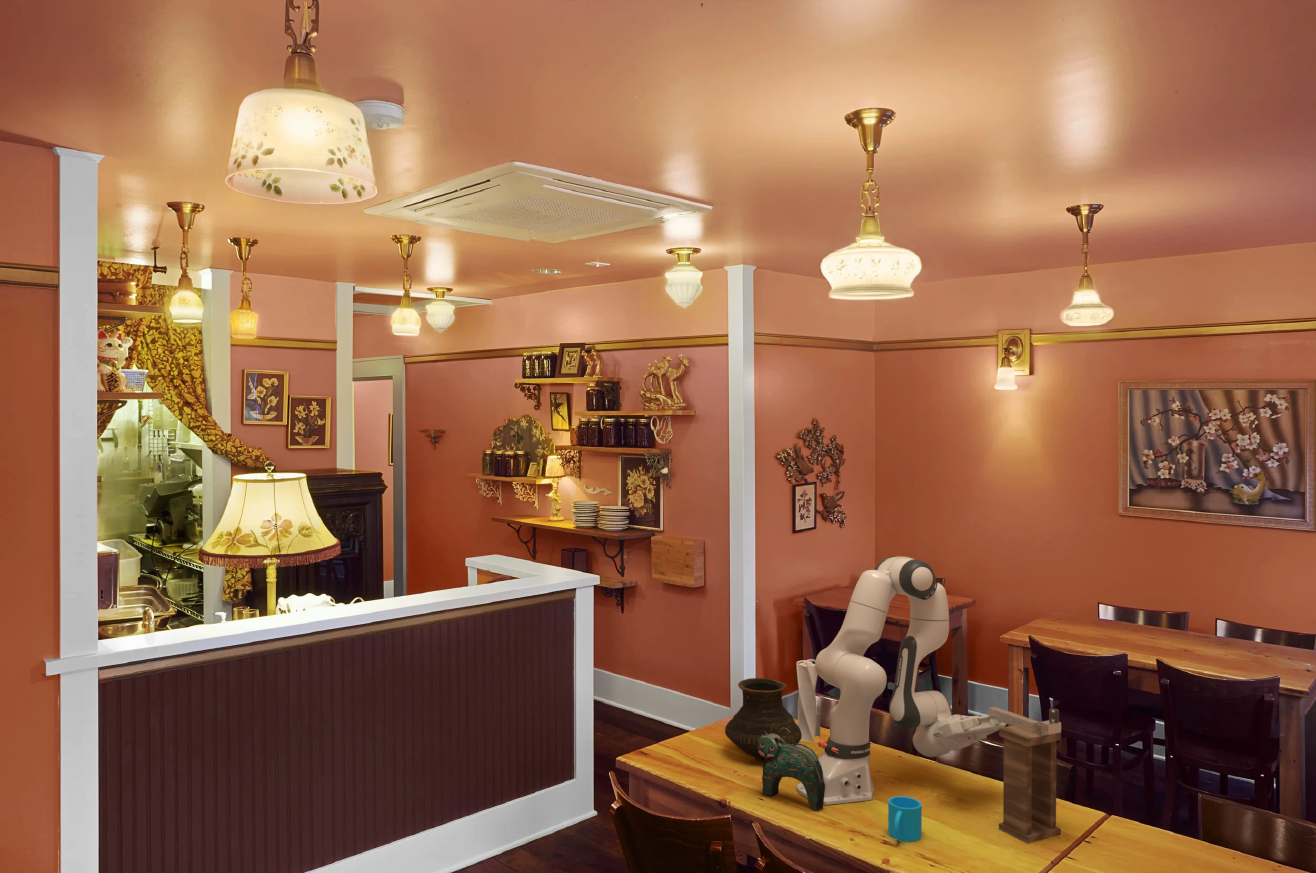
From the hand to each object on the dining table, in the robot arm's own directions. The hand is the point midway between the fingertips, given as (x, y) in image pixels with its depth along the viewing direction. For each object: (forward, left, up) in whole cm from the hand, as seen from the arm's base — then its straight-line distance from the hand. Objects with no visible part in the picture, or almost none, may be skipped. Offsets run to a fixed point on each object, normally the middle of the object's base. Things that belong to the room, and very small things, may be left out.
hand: (991, 718), depth 235 cm
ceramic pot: (-31, +64, -26) cm, 75 cm away
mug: (-32, -1, -26) cm, 41 cm away
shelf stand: (0, -13, -25) cm, 28 cm away
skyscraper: (-9, +70, -26) cm, 75 cm away
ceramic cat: (-44, +30, -26) cm, 59 cm away
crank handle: (+2, -9, +1) cm, 9 cm away
